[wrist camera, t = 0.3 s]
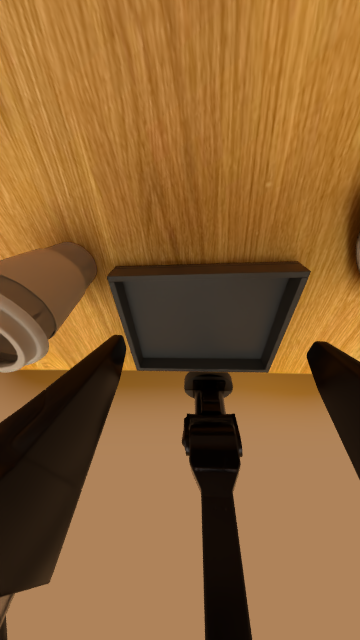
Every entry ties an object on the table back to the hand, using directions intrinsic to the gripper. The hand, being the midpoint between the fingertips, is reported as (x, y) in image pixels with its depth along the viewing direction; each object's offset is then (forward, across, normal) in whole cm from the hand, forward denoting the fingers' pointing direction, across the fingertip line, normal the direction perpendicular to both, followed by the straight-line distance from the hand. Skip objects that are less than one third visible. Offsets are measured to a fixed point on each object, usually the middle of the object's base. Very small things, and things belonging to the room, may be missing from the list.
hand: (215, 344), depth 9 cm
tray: (+12, 0, +8) cm, 15 cm away
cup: (+13, +14, +1) cm, 19 cm away
